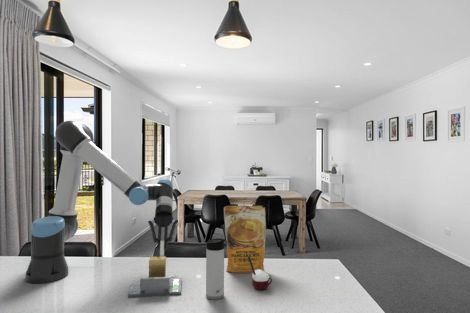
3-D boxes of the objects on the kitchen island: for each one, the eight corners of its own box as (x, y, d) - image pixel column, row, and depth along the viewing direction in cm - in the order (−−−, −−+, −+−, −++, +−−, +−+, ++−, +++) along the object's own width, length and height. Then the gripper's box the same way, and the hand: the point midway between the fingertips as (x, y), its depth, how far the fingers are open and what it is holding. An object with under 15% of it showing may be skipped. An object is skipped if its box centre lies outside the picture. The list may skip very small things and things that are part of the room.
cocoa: (271, 286, 121) (272, 254, 122) (272, 292, 115) (273, 259, 116) (246, 284, 122) (248, 252, 123) (245, 290, 116) (247, 257, 117)
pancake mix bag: (222, 268, 141) (223, 204, 141) (265, 267, 143) (265, 204, 143) (223, 273, 134) (223, 206, 135) (268, 272, 136) (268, 206, 136)
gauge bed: (128, 297, 110) (128, 279, 110) (134, 283, 123) (134, 267, 123) (180, 294, 113) (181, 277, 113) (181, 280, 125) (181, 265, 126)
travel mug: (222, 300, 108) (222, 241, 108) (203, 299, 109) (204, 240, 109) (226, 293, 114) (226, 237, 114) (208, 291, 115) (209, 236, 115)
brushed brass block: (148, 284, 119) (149, 260, 119) (150, 280, 123) (150, 256, 123) (177, 282, 120) (177, 258, 120) (177, 278, 124) (177, 255, 124)
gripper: (178, 213, 148) (178, 260, 131) (149, 214, 146) (145, 262, 129) (178, 203, 143) (178, 251, 126) (148, 204, 140) (144, 252, 124)
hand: (161, 256), depth 127 cm, fingers closed
